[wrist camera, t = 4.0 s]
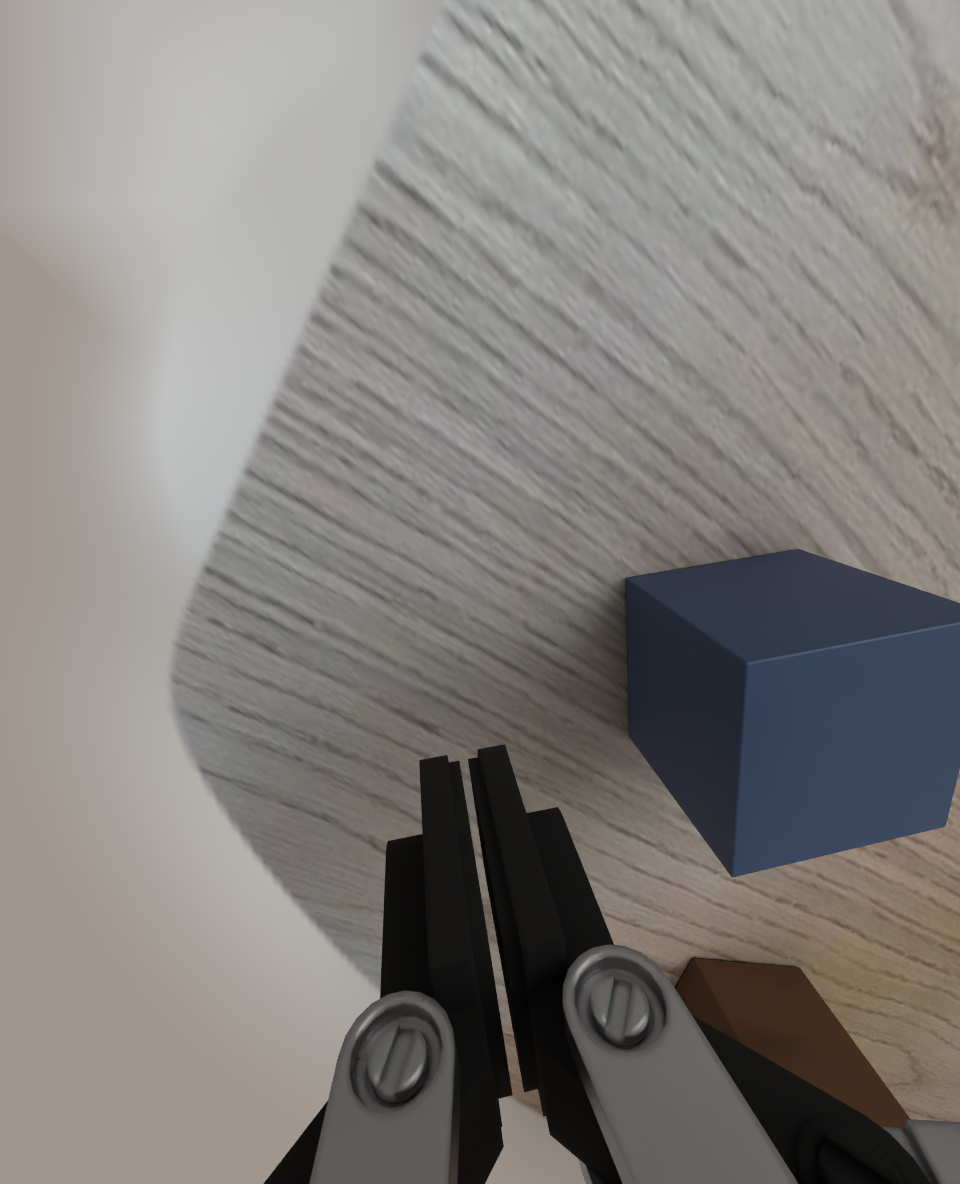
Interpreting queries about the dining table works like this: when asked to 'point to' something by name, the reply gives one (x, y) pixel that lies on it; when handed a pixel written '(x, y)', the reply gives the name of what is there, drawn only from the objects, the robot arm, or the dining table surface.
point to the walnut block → (788, 1030)
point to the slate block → (795, 704)
